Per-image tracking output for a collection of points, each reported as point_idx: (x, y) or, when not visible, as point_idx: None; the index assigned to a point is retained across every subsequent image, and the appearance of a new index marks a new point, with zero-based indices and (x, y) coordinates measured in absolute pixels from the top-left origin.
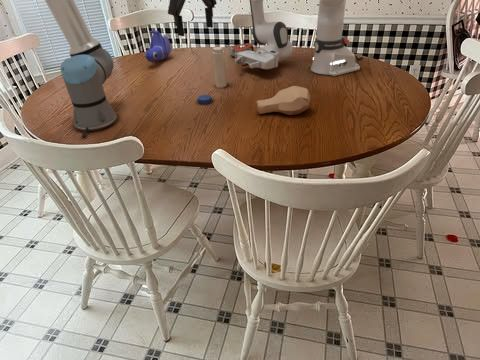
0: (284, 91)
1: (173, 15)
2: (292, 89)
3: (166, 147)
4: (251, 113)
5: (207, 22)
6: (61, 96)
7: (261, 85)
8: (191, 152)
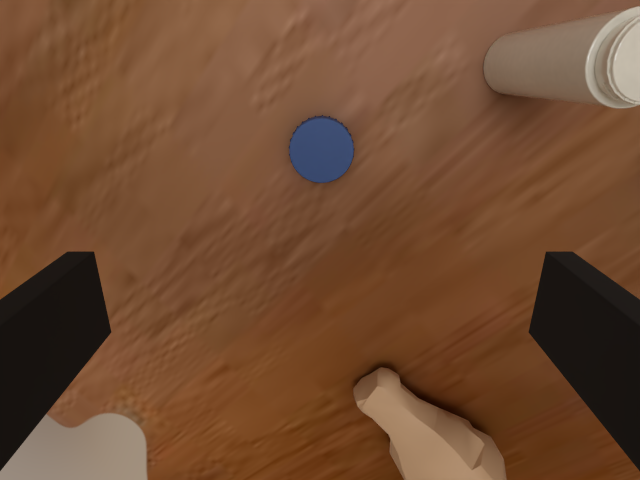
0: (447, 470)
1: None
2: None
3: None
4: (351, 355)
5: (571, 303)
6: None
7: (598, 224)
8: None
